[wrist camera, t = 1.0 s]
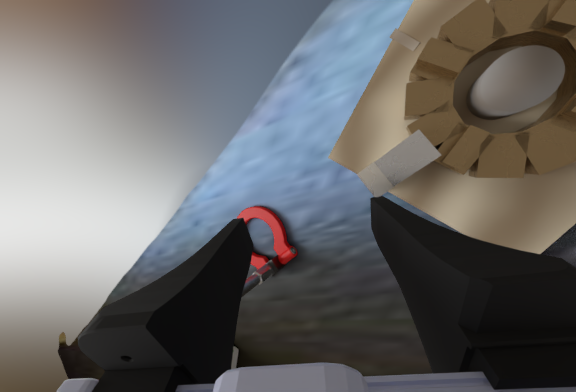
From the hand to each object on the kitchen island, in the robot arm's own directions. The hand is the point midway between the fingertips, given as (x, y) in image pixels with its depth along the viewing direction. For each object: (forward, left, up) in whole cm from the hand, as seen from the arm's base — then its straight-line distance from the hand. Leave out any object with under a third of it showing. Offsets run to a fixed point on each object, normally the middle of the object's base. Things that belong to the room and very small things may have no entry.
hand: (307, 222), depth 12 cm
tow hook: (+7, +12, -13) cm, 19 cm away
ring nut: (-5, -10, -11) cm, 16 cm away
